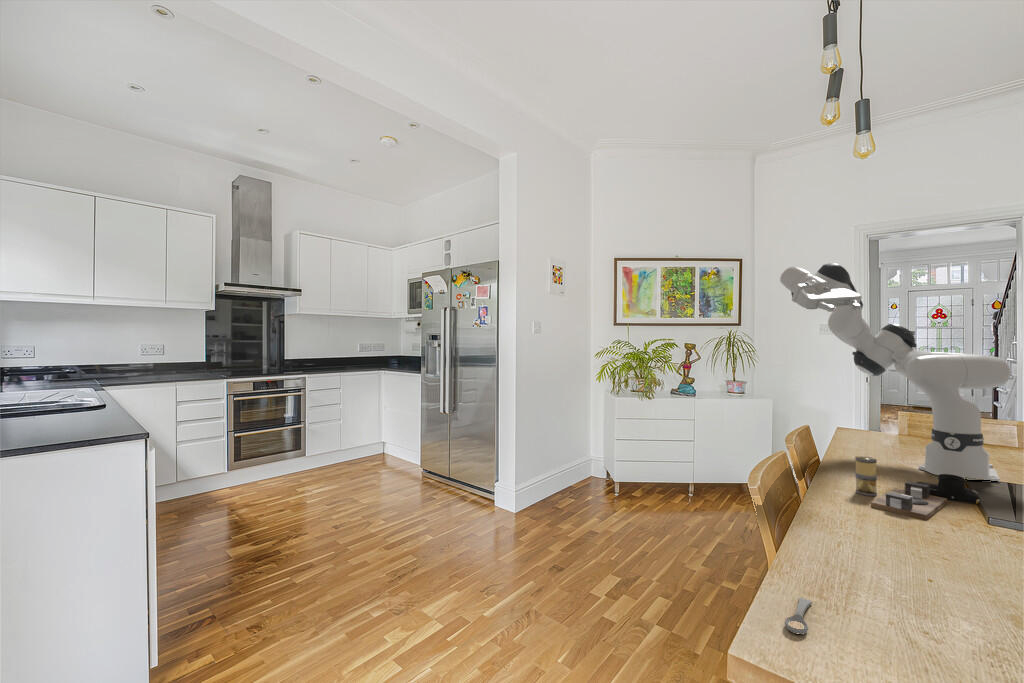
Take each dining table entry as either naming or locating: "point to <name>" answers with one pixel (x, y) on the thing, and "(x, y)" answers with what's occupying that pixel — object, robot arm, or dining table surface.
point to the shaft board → (916, 508)
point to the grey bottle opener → (799, 616)
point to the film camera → (952, 489)
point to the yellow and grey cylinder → (866, 476)
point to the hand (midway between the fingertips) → (845, 308)
